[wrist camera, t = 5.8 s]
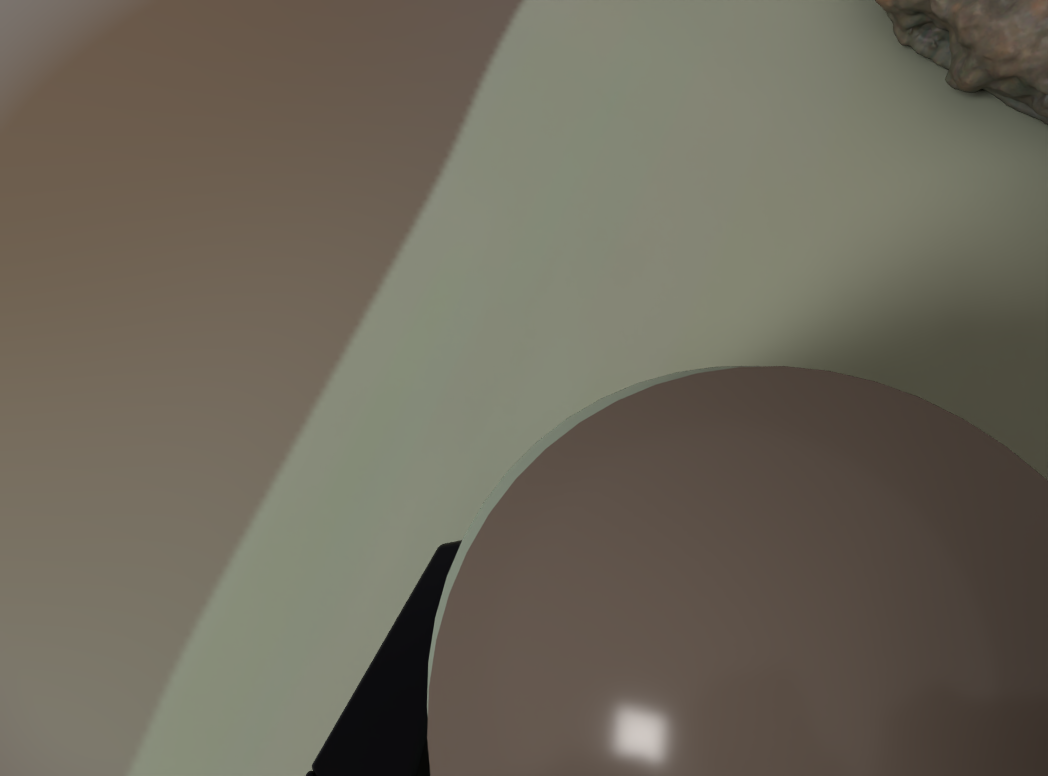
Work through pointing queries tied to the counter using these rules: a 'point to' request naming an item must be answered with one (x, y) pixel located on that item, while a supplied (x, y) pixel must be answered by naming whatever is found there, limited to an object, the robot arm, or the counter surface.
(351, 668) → the counter surface
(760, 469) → the spice jar
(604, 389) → the counter surface
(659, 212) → the counter surface
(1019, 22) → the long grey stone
